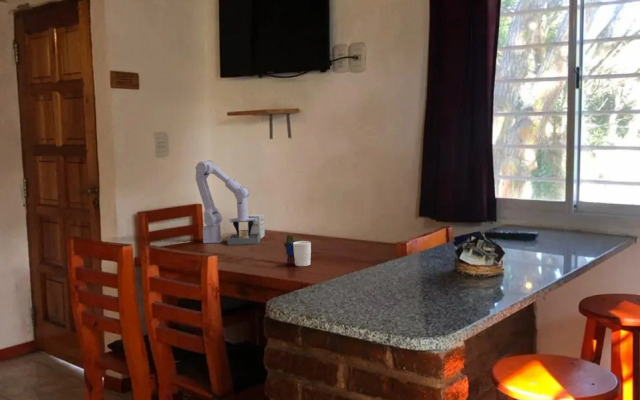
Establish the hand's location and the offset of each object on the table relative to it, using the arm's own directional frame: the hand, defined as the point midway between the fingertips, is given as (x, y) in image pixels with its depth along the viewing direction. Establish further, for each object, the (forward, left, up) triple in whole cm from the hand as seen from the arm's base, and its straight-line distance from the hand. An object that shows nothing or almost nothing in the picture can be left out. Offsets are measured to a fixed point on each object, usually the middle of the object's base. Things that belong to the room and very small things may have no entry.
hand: (244, 235), depth 348 cm
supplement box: (+5, +16, -4) cm, 17 cm away
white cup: (+33, -58, -4) cm, 67 cm away
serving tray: (0, +1, -4) cm, 4 cm away
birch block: (0, 0, -3) cm, 3 cm away
